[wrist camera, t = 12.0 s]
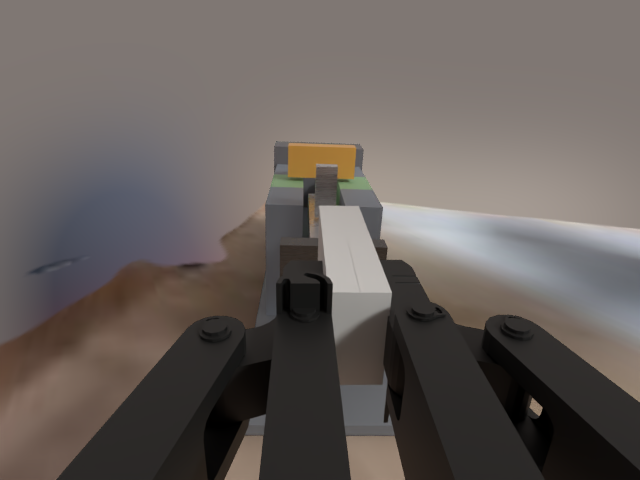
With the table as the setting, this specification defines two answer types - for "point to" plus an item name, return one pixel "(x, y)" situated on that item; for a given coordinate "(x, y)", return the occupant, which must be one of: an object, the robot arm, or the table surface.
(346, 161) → the orange rectangular plank
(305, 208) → the grey stepped block
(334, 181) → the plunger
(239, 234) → the table surface
